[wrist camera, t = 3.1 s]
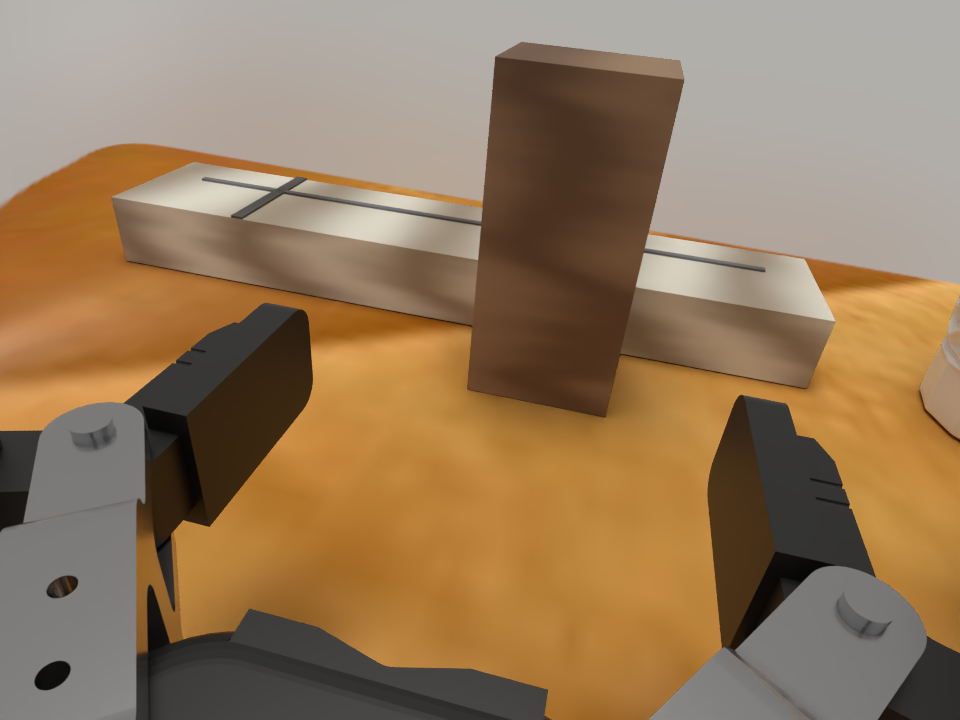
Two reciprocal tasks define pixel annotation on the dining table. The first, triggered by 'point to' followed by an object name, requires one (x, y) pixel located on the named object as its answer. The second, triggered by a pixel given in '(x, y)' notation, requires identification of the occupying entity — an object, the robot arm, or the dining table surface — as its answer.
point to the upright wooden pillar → (566, 218)
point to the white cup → (945, 379)
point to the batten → (465, 266)
